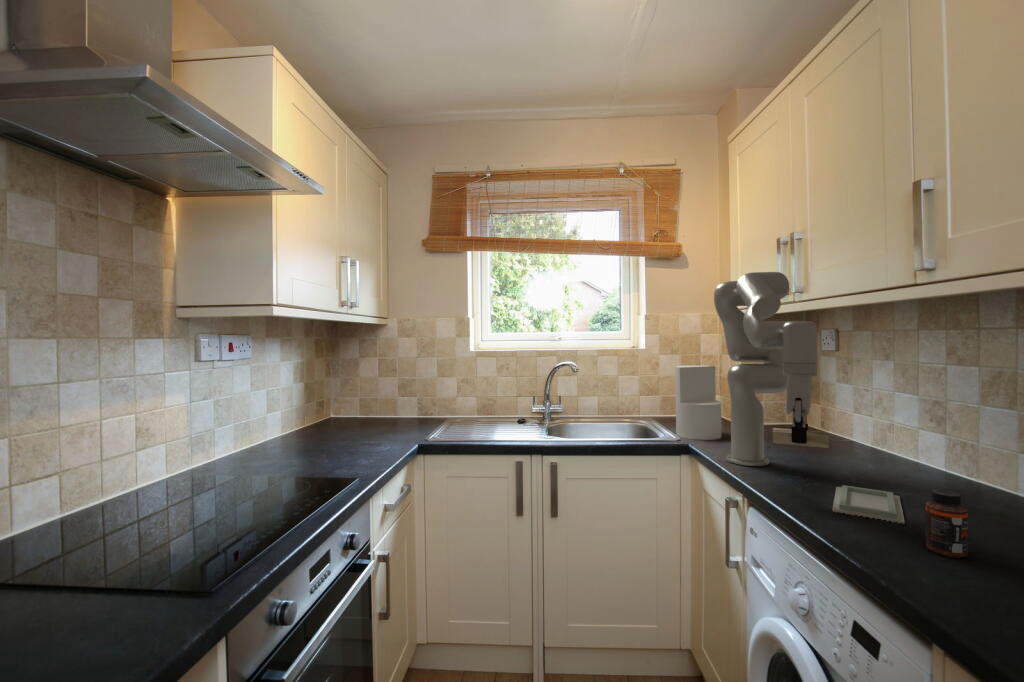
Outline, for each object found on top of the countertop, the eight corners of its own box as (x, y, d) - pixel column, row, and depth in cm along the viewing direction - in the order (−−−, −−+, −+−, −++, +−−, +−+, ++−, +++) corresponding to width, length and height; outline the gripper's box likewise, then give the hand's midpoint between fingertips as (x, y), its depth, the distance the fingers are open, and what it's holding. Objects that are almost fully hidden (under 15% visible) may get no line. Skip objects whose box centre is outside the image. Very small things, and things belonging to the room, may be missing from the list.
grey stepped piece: (667, 432, 200) (666, 366, 199) (701, 429, 205) (701, 364, 204) (694, 441, 183) (694, 369, 183) (731, 437, 188) (730, 367, 188)
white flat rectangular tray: (836, 488, 127) (836, 482, 127) (899, 497, 119) (899, 491, 119) (832, 511, 111) (832, 505, 110) (904, 524, 103) (904, 517, 103)
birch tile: (772, 439, 126) (772, 427, 126) (826, 443, 120) (826, 431, 120) (772, 443, 122) (772, 431, 122) (828, 448, 116) (828, 435, 116)
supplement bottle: (971, 562, 86) (970, 499, 86) (927, 553, 89) (926, 493, 89) (965, 550, 90) (965, 490, 90) (924, 542, 94) (923, 485, 94)
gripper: (785, 367, 130) (786, 432, 130) (779, 371, 116) (779, 445, 116) (818, 367, 126) (818, 436, 126) (815, 372, 112) (816, 449, 112)
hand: (799, 439), depth 121 cm, fingers closed on birch tile, 5 cm apart
